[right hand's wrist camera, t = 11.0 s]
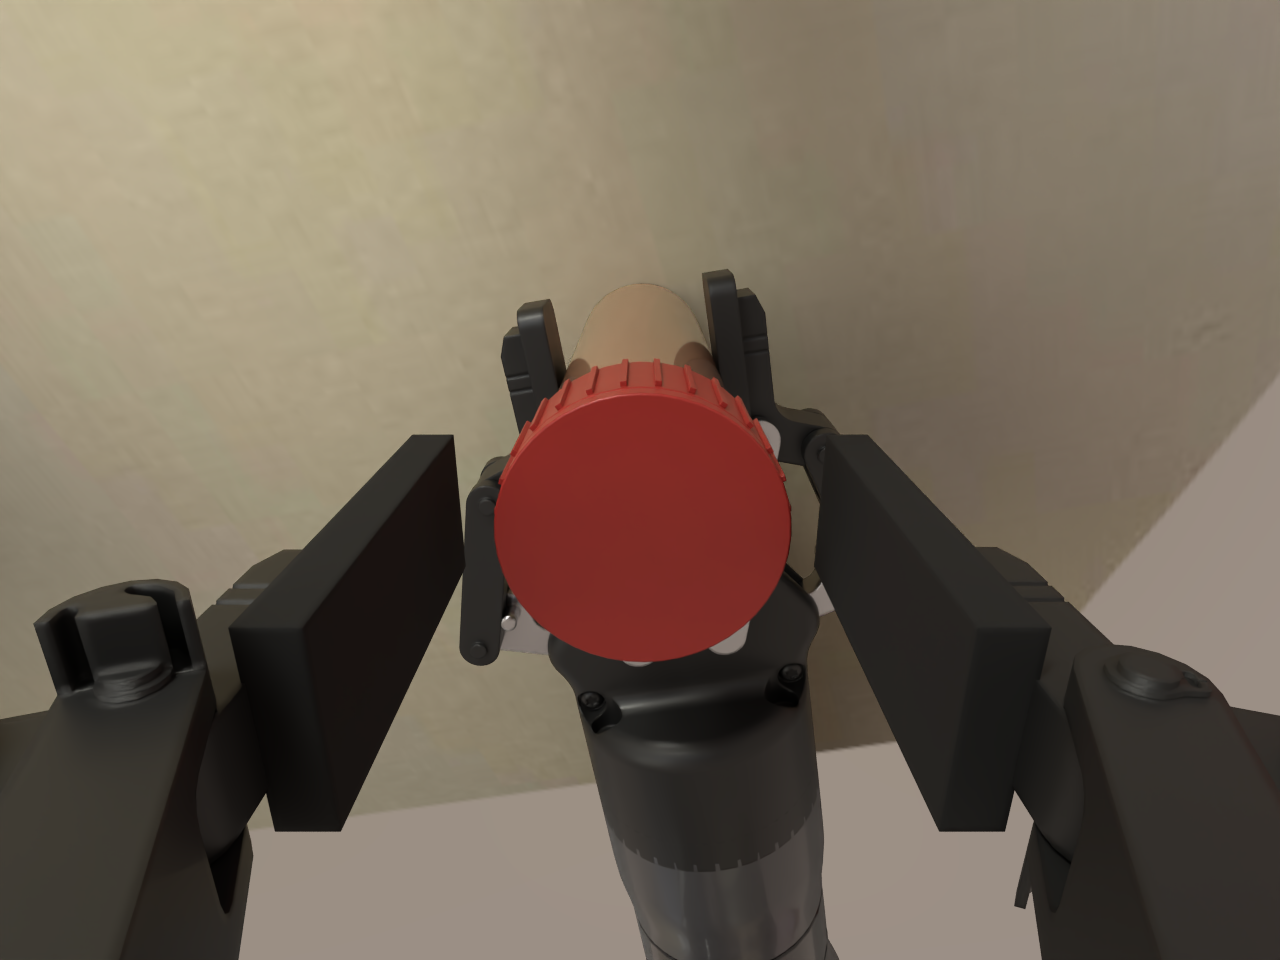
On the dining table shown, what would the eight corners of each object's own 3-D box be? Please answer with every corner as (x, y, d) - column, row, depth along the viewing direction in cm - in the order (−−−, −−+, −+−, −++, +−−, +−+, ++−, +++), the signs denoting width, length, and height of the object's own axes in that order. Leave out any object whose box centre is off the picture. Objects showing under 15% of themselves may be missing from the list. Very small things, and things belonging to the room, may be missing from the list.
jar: (580, 284, 26) (504, 403, 12) (702, 282, 26) (778, 401, 12) (585, 401, 28) (523, 637, 13) (700, 400, 28) (764, 634, 13)
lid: (501, 358, 13) (475, 390, 11) (780, 355, 13) (806, 386, 11) (521, 600, 15) (501, 667, 13) (766, 598, 15) (787, 665, 13)
